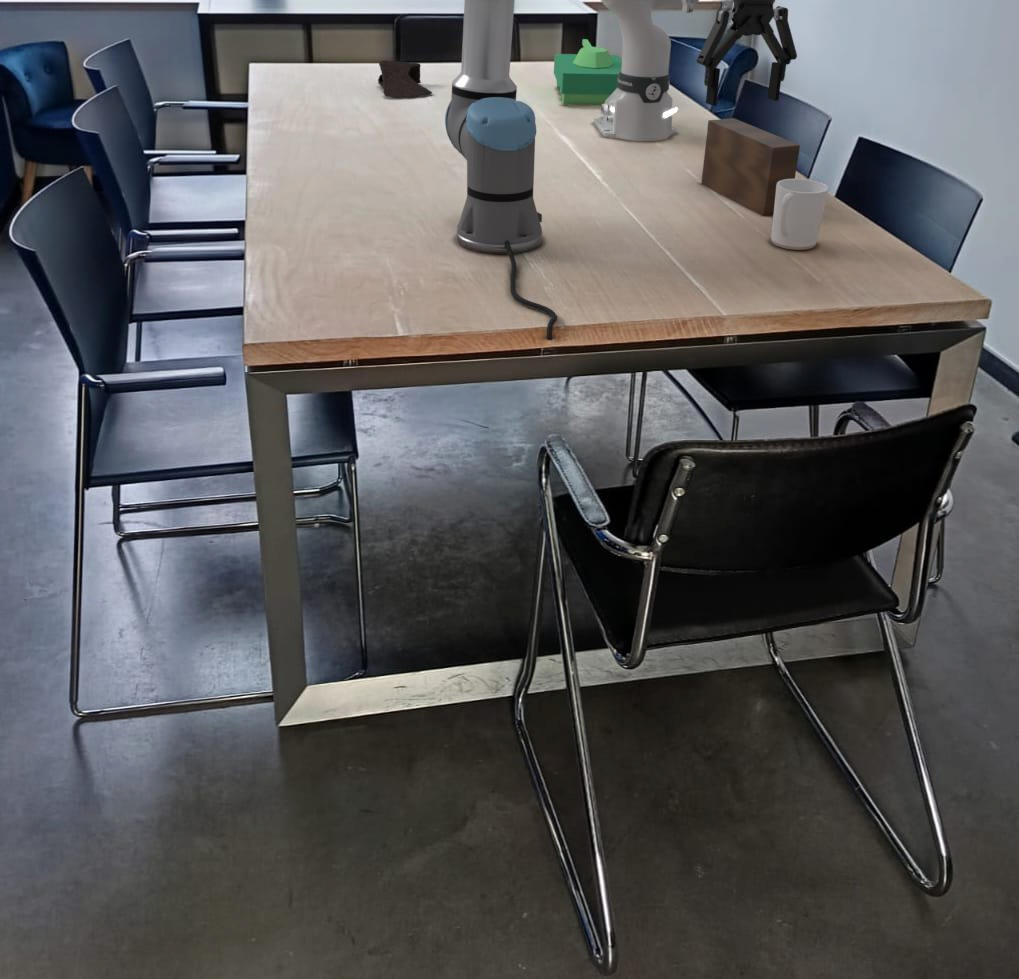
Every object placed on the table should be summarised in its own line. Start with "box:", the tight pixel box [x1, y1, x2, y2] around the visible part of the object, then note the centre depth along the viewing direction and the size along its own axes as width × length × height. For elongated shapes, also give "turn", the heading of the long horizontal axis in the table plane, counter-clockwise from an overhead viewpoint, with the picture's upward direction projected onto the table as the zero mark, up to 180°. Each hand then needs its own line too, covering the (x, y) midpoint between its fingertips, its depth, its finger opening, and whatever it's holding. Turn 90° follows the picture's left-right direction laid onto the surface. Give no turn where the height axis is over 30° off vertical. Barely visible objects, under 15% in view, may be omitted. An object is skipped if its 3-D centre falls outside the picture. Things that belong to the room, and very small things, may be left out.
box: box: [701, 117, 801, 217], centre depth 218 cm, size 23×6×13 cm, turn 23°
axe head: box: [377, 59, 433, 99], centre depth 299 cm, size 18×8×15 cm
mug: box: [770, 178, 829, 251], centre depth 194 cm, size 11×9×10 cm
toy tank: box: [553, 38, 622, 106], centre depth 299 cm, size 18×12×35 cm
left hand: (742, 101), depth 208 cm, fingers open, 13 cm apart
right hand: (707, 11), depth 224 cm, fingers open, 8 cm apart
